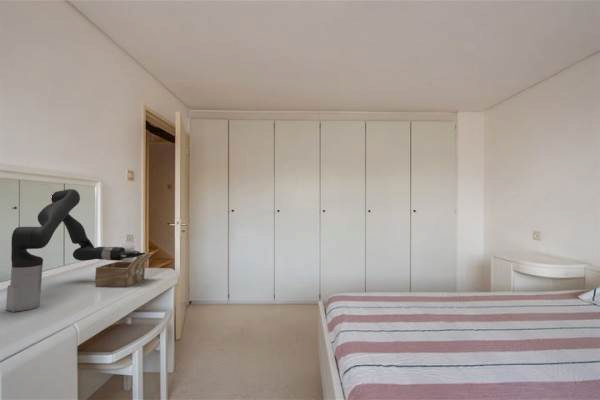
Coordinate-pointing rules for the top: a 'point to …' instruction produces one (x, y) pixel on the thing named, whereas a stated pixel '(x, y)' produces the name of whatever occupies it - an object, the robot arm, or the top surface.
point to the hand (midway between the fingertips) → (144, 254)
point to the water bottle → (128, 247)
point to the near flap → (141, 259)
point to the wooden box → (119, 274)
